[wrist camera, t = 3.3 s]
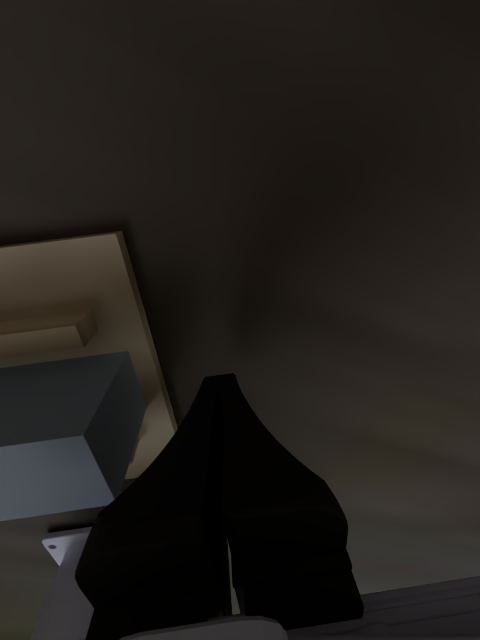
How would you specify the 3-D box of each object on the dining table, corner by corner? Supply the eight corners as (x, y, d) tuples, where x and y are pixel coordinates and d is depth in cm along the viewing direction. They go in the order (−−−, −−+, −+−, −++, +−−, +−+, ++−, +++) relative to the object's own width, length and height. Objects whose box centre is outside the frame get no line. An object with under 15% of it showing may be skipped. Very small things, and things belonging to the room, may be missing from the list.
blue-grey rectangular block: (147, 407, 15) (116, 504, 10) (-47, 434, 15) (-164, 545, 10) (128, 350, 13) (83, 435, 9) (-88, 379, 13) (-248, 481, 9)
